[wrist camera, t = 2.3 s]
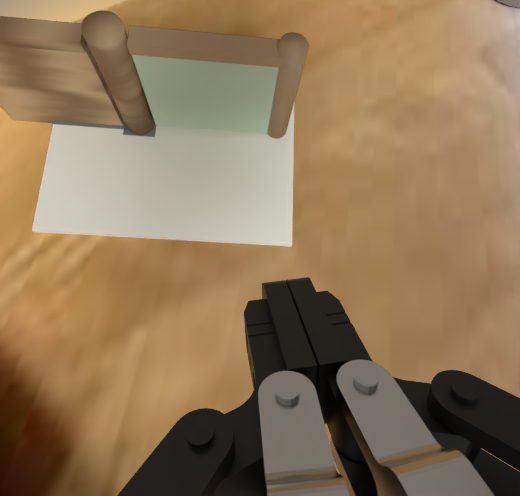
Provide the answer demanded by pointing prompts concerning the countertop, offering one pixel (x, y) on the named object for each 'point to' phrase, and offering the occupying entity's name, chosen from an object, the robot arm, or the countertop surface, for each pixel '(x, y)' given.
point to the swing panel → (218, 78)
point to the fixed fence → (71, 73)
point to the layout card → (168, 184)
